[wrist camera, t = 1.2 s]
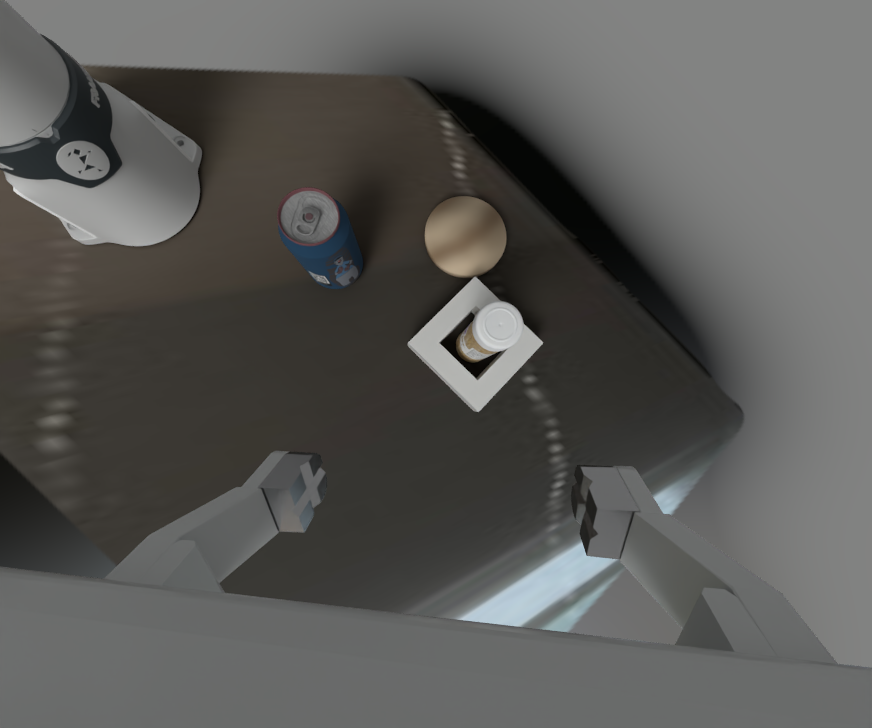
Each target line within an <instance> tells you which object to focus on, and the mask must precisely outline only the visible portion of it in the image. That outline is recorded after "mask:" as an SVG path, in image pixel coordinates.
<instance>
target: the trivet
mask: <svg viewBox="0 0 872 728" xmlns="http://www.w3.org/2000/svg"><path fill="white" fill-rule="evenodd" d="M425 246H426V250H427V252H428V255H429V257H430V258H431V260H432V261H433V263H434V264H435V265H436V266H437V267H438V268H439V269H441V270H442V271H444V272H445V273H447V274H449V275H452V276H454V277H459V278H474V277H478V276H481V275H483V274H485V273H487V272H488V271H490V270H491V269H492V268H493V267H494V266H495V265H496V264H497V262H498V261H499V259H500V258H501V256H502V254H503V252H504V249H505V246H506V229H505V225H504V223H503V220H502V219H501V217H500V215H499V214H498V212H497V211H496V210H495V209H494V208H493V207H492V206H490V205H489V204H488V203H486V202H484V201H482V200H480V199H478V198H474V197H469V196H459V197H453V198H450V199H448V200H445V201H444V202H442V203H440V204H439V205H438V206H437V207H436V208H435V209H434V210H433V211H432V213H431V214H430V216H429V218H428V220H427V223H426V228H425Z"/></svg>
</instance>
